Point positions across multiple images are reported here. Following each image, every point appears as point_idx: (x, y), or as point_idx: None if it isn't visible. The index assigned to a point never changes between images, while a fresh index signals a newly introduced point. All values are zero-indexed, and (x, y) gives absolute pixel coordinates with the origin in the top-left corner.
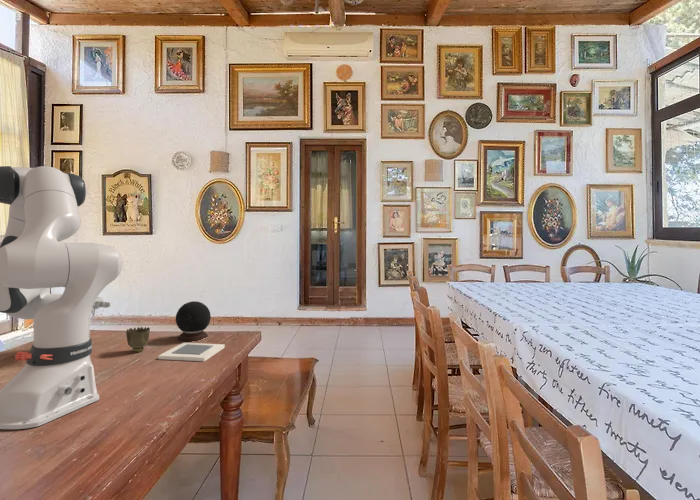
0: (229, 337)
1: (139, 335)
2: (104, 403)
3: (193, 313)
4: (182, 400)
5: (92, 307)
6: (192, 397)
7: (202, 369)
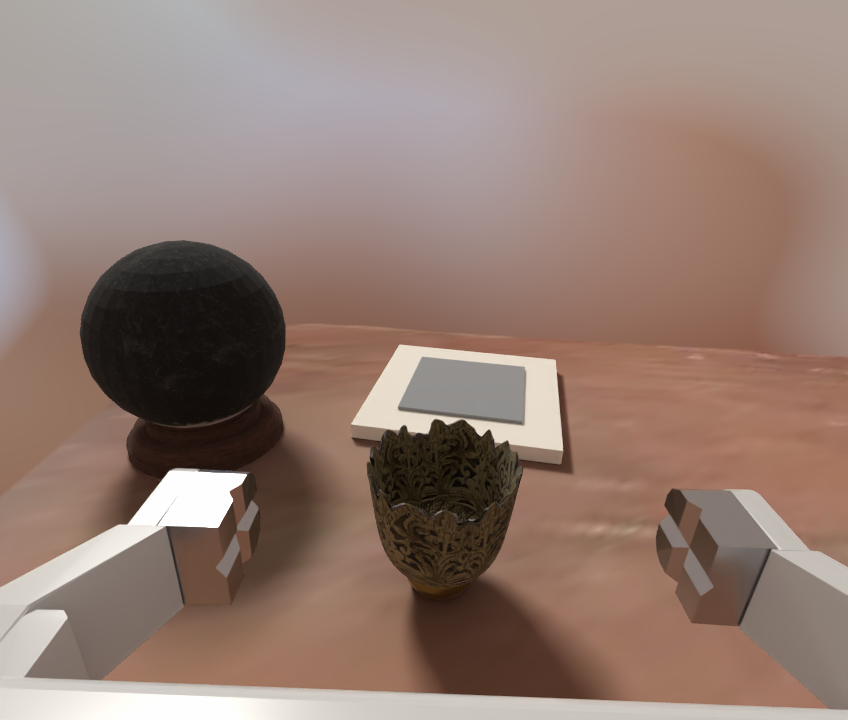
0: None
1: (500, 461)
2: None
3: (272, 291)
4: (830, 364)
5: (726, 493)
6: (802, 356)
7: (624, 365)
